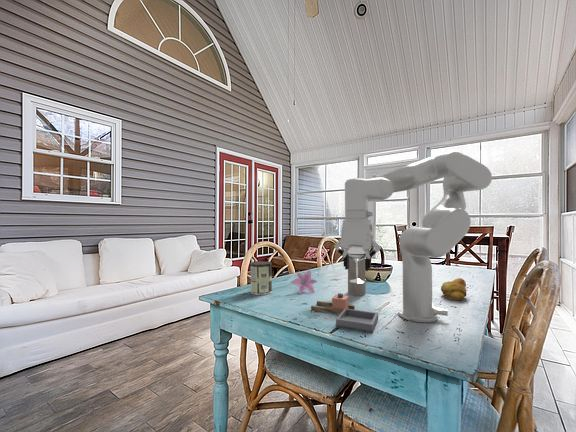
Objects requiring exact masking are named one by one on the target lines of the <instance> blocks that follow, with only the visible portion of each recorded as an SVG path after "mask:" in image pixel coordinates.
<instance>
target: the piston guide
mask: <svg viewBox="0 0 576 432" xmlns="http://www.w3.org/2000/svg"><path fill="white" fill-rule="evenodd" d="M355 308H356V306H355V304H354V305H353V304H349V309H353V310H356V309H355ZM310 310H311V313H312V314H314V313H315V312H321V313H322V312H323V313H327V314H335V315H340V314H341V312H342V311H343V310H342V309H334V308H332V301H331V302H330V301H323V300H317V301H316V305H311V306H310Z"/></svg>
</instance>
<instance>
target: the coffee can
mask: <svg viewBox="0 0 576 432" xmlns="http://www.w3.org/2000/svg"><path fill="white" fill-rule="evenodd" d="M249 267H250V293H251V294H252V295H255V296H265V295H269V294H272V293H273V283H272V282H273V280H272V278H273V276H272V274H273V273H272V270H273V269H272V262H271V261H268V260H267V261H266V260H258V261H252V262H250V266H249Z"/></svg>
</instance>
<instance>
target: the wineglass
mask: <svg viewBox="0 0 576 432" xmlns="http://www.w3.org/2000/svg"><path fill="white" fill-rule="evenodd" d="M348 247H349V249H347V255H348V257H349V258H350V259H352V260H354V262H356V277H357V279H353V280H350V282H353V283H364V282H365V283H366V280H365V281H363V280H360V279H358V262H360V260H362V259H364V258H365V259H366V254H365V253H366V252H365V250H363V249H362V248H363V246H348Z"/></svg>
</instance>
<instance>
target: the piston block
mask: <svg viewBox="0 0 576 432" xmlns="http://www.w3.org/2000/svg"><path fill="white" fill-rule="evenodd" d="M331 303H332V307H331V308H334V309H342V310H344V309H349V305H350V303H349V295H344V293H341V292H338V293H337V294H335V295H334V296H333V297H332V298H331Z"/></svg>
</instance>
